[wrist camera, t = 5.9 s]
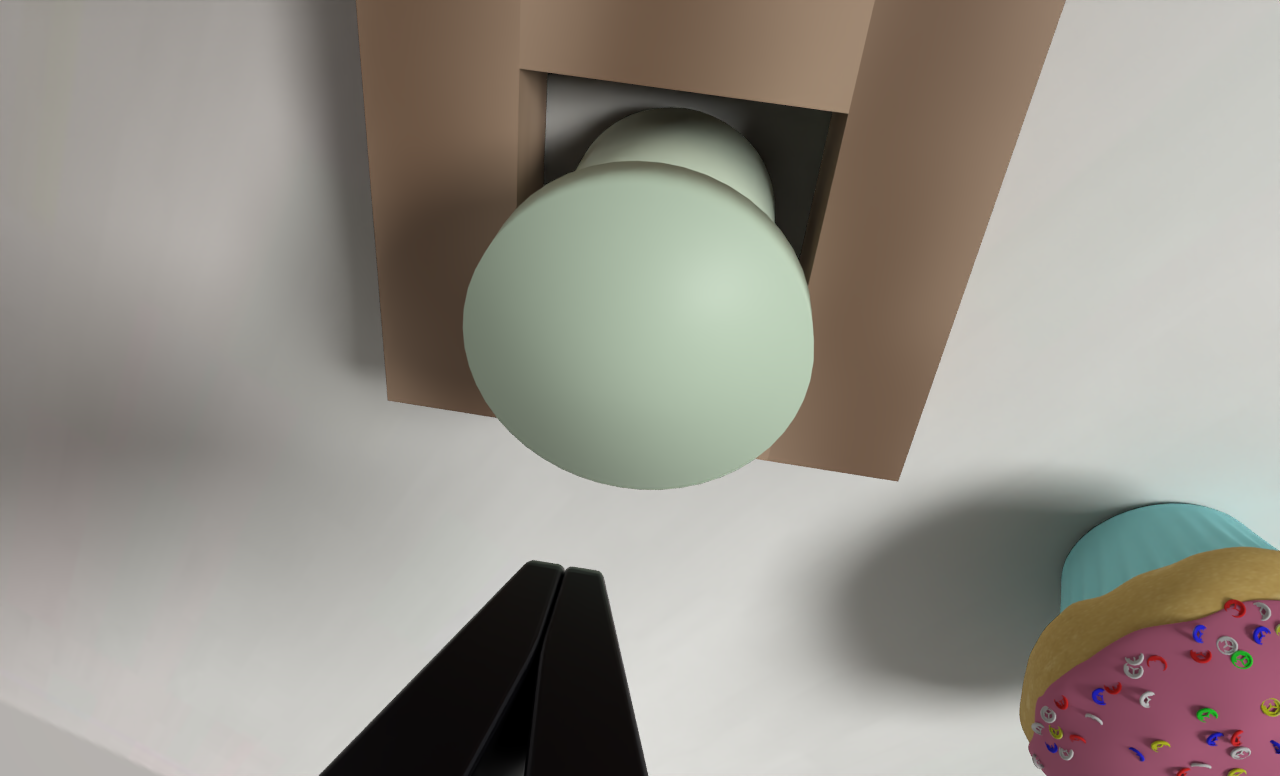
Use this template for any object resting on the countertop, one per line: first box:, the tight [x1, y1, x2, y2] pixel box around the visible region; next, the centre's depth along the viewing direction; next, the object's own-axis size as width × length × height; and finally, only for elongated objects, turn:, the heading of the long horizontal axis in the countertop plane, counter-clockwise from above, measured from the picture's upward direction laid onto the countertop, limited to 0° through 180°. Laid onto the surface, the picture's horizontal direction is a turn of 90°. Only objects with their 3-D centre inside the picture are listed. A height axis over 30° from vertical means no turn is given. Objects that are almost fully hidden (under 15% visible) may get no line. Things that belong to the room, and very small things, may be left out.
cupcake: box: [1019, 504, 1280, 776], centre depth 19 cm, size 9×8×12 cm
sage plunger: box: [463, 107, 814, 490], centre depth 16 cm, size 6×6×6 cm
